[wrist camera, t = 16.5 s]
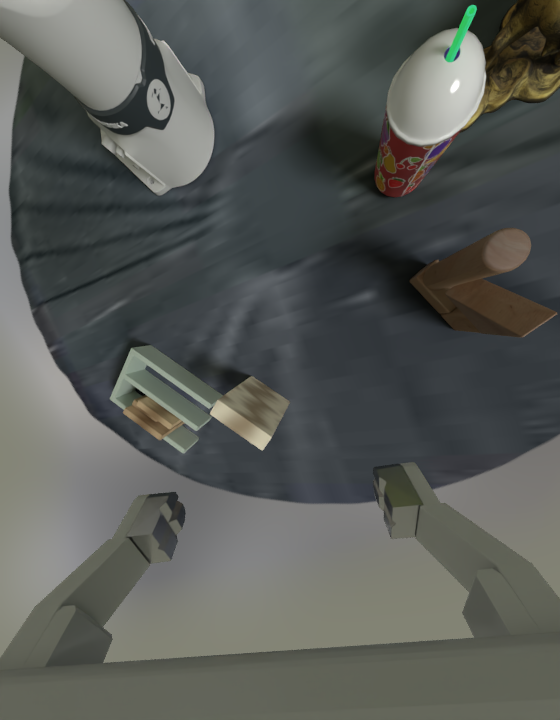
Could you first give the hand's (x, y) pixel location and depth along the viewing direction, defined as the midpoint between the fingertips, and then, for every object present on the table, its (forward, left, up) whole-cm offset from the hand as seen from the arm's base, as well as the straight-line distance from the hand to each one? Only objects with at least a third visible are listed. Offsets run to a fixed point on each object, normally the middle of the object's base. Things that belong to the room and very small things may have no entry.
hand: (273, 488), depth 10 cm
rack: (-21, -24, -34) cm, 47 cm away
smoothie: (-6, +29, -35) cm, 46 cm away
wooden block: (+10, +18, -35) cm, 40 cm away
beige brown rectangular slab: (-4, -12, -34) cm, 37 cm away
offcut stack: (-21, -26, -34) cm, 48 cm away
